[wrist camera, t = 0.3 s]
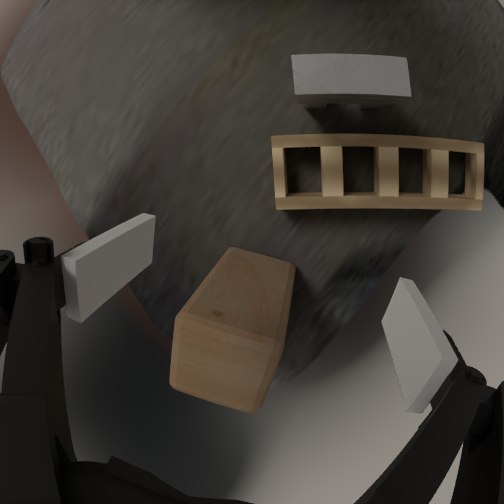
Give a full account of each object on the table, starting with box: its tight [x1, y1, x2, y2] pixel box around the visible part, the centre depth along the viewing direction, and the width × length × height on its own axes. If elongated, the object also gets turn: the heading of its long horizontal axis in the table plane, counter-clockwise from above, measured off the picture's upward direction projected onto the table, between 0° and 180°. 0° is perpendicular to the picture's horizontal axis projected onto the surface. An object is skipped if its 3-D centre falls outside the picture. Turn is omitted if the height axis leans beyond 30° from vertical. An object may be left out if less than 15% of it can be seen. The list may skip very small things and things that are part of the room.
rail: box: [271, 134, 484, 211], centre depth 35 cm, size 9×28×4 cm, turn 94°
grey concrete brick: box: [291, 54, 411, 109], centre depth 29 cm, size 4×11×12 cm, turn 94°
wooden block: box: [170, 247, 296, 413], centre depth 37 cm, size 10×10×20 cm
